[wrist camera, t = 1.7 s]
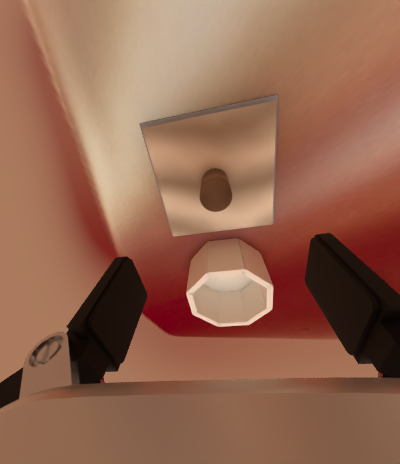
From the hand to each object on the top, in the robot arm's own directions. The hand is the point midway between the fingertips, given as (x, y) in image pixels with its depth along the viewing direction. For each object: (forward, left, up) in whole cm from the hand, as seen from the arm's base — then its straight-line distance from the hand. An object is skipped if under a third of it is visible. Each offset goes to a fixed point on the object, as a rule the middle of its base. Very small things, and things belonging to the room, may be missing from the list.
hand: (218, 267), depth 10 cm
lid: (0, 0, -16) cm, 16 cm away
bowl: (+15, 0, -17) cm, 22 cm away
